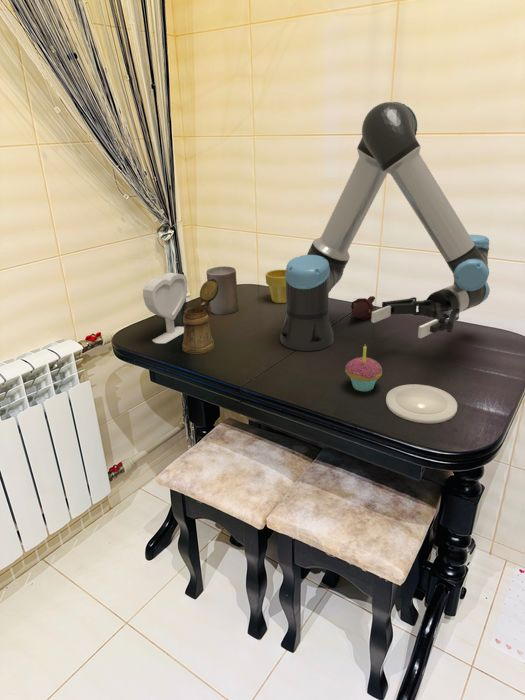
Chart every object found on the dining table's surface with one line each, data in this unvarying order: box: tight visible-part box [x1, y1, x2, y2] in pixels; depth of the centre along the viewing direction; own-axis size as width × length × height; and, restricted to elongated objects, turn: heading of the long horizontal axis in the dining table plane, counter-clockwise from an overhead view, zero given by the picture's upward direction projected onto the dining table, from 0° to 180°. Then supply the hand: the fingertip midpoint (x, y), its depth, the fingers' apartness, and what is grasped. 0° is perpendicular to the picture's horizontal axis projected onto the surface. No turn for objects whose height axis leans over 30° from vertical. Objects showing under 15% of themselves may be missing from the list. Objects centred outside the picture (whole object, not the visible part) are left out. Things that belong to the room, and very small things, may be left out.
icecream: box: [350, 295, 376, 321], centre depth 158 cm, size 7×7×15 cm
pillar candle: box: [206, 266, 239, 316], centre depth 167 cm, size 10×10×15 cm
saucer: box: [385, 383, 458, 425], centre depth 112 cm, size 15×15×1 cm
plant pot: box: [265, 268, 286, 304], centre depth 175 cm, size 10×10×10 cm
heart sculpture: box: [142, 272, 188, 344], centre depth 148 cm, size 16×5×18 cm, turn 150°
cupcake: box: [344, 343, 383, 392], centre depth 117 cm, size 9×8×12 cm
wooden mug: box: [181, 278, 219, 355], centre depth 140 cm, size 9×14×18 cm, turn 146°
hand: (395, 324), depth 120 cm, fingers open, 13 cm apart
